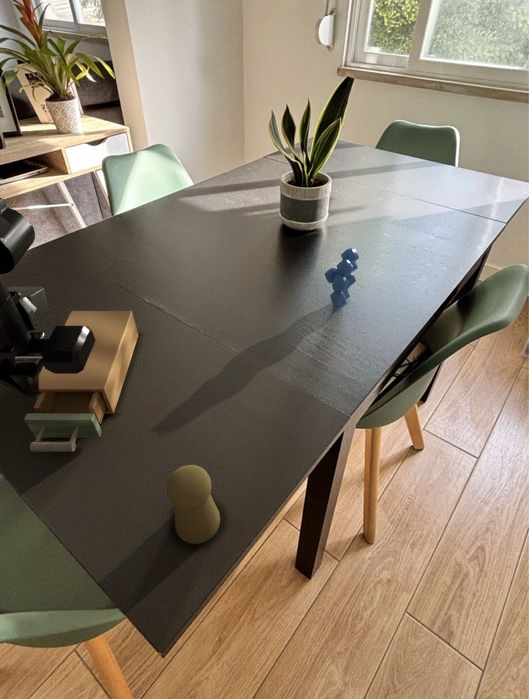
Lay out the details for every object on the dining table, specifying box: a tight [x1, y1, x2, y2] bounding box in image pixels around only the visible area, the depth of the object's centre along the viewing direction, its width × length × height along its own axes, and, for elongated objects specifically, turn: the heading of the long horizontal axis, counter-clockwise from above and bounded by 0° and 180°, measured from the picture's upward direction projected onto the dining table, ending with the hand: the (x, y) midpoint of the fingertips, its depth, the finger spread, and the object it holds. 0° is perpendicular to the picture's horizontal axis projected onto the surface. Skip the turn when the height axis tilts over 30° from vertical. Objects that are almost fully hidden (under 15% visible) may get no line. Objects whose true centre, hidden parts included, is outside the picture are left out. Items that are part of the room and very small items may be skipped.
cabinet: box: [35, 310, 139, 415], centre depth 75 cm, size 19×11×6 cm, turn 0°
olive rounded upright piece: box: [166, 464, 221, 545], centre depth 53 cm, size 6×6×11 cm
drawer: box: [23, 392, 107, 453], centre depth 69 cm, size 22×10×5 cm, turn 0°
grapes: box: [324, 247, 360, 310], centre depth 88 cm, size 12×7×12 cm, turn 158°
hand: (34, 394), depth 56 cm, fingers closed
